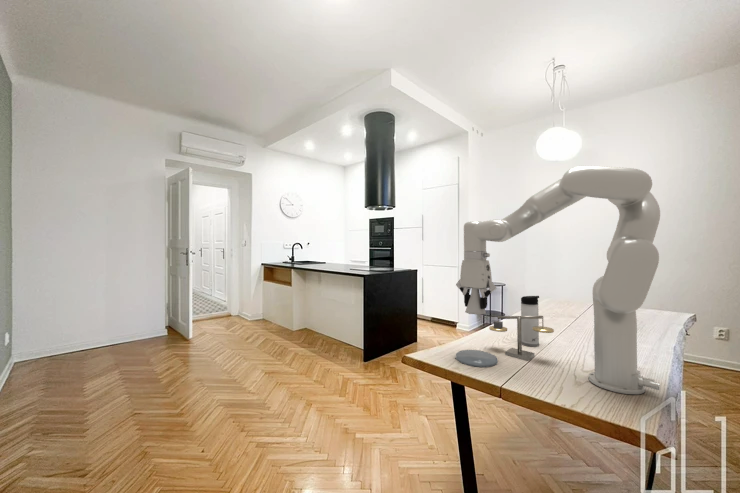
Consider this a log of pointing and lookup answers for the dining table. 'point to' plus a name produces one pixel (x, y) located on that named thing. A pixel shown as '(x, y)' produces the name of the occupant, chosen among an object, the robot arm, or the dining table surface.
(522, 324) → the travel mug
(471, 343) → the dining table surface
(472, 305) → the flask
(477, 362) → the slate dish
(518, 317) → the tipped balance
